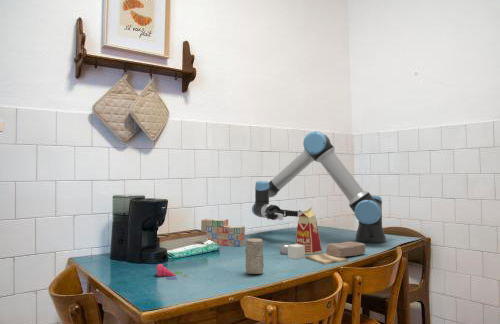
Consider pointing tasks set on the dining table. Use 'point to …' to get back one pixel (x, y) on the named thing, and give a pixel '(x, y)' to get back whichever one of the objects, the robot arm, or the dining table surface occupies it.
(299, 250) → the white cube
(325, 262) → the plate
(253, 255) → the carving
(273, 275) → the dining table surface
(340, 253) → the brick
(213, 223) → the stack of blocks
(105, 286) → the dining table surface
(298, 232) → the milk carton
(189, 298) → the dining table surface
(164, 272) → the toy pieces
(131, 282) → the dining table surface
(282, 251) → the grey tin
